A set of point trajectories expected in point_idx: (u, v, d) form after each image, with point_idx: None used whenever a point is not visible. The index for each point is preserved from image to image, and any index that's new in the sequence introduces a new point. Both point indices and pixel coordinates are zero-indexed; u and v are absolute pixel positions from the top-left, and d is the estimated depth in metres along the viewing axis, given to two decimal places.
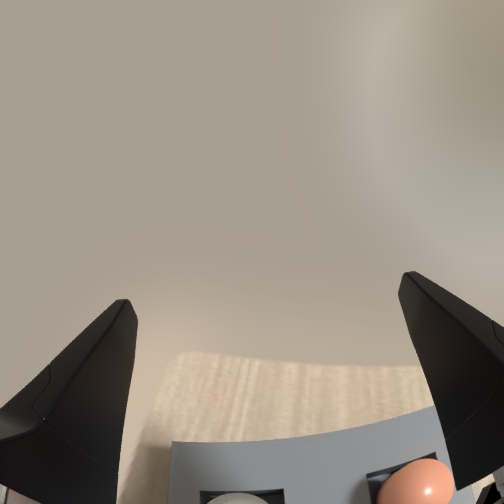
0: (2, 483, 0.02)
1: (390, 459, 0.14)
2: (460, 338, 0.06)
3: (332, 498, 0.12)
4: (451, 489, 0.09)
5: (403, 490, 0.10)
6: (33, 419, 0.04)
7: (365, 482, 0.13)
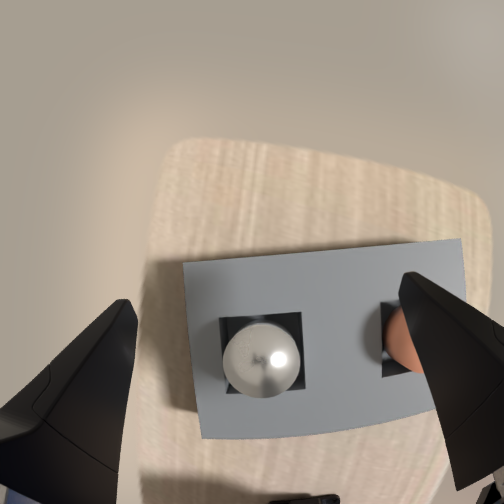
0: (2, 483, 0.02)
1: None
2: (460, 338, 0.06)
3: (347, 325, 0.17)
4: None
5: None
6: (33, 419, 0.04)
7: (378, 311, 0.17)
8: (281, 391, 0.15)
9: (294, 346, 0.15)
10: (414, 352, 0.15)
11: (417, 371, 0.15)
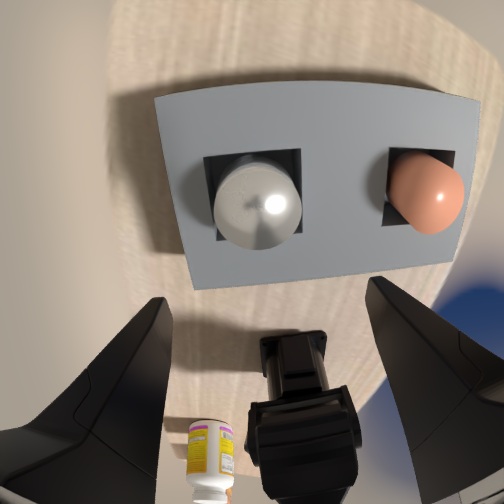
0: None
1: (415, 139, 0.14)
2: (421, 349, 0.06)
3: (351, 167, 0.15)
4: (457, 212, 0.14)
5: (423, 194, 0.14)
6: (77, 430, 0.04)
7: (386, 157, 0.15)
8: (280, 242, 0.15)
9: (296, 193, 0.14)
10: (421, 211, 0.14)
11: (420, 231, 0.15)
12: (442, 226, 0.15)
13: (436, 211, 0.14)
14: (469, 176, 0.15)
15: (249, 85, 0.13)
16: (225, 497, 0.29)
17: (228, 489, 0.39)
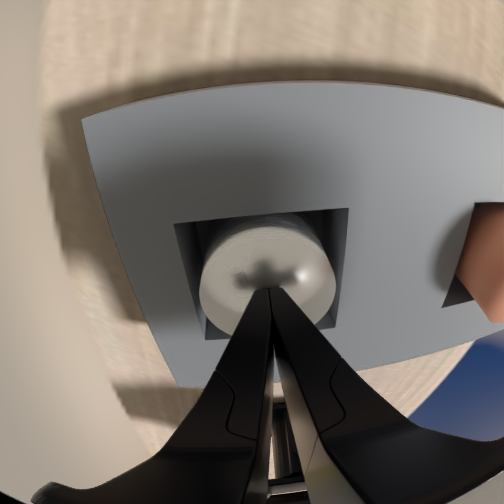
0: None
1: None
2: (291, 373, 0.06)
3: (421, 236, 0.09)
4: None
5: None
6: (241, 443, 0.04)
7: (468, 217, 0.08)
8: None
9: (329, 270, 0.09)
10: (502, 299, 0.08)
11: (494, 321, 0.09)
12: None
13: None
14: None
15: (258, 87, 0.06)
16: None
17: None
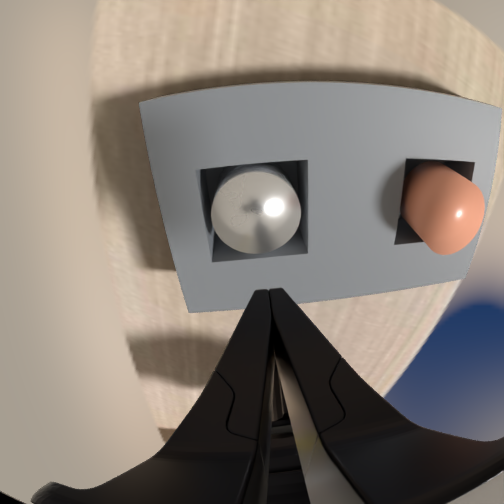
0: None
1: (434, 149, 0.12)
2: (291, 373, 0.06)
3: (363, 181, 0.13)
4: (476, 230, 0.13)
5: (442, 212, 0.12)
6: (241, 444, 0.04)
7: (402, 169, 0.13)
8: (278, 245, 0.15)
9: (295, 196, 0.13)
10: (439, 231, 0.13)
11: (437, 252, 0.13)
12: (459, 246, 0.13)
13: (455, 230, 0.13)
14: (487, 189, 0.13)
15: (248, 86, 0.11)
16: None
17: None
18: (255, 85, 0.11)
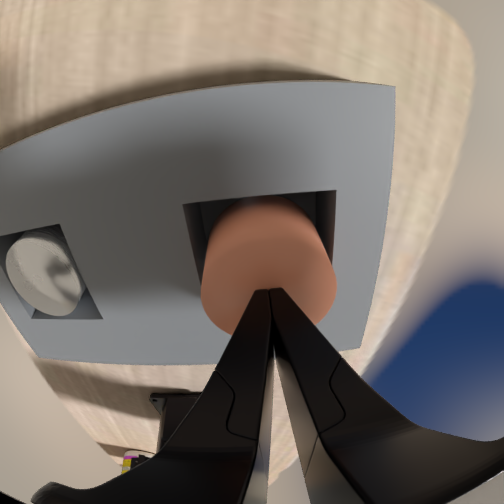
0: None
1: (234, 182, 0.09)
2: (291, 373, 0.06)
3: (129, 242, 0.10)
4: (326, 308, 0.09)
5: (230, 289, 0.09)
6: (242, 443, 0.04)
7: (182, 220, 0.10)
8: (70, 310, 0.12)
9: (60, 263, 0.10)
10: (237, 313, 0.09)
11: None
12: None
13: None
14: (376, 230, 0.10)
15: None
16: None
17: None
18: (0, 152, 0.08)
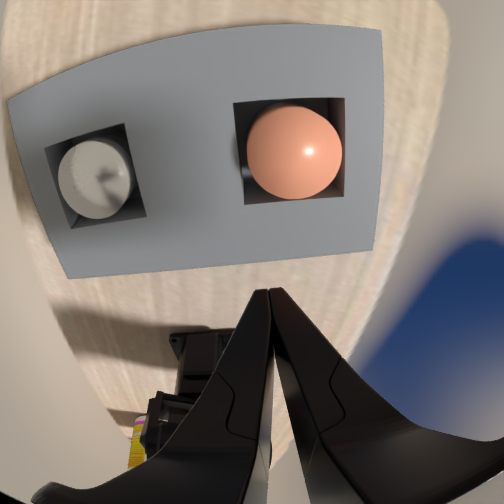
0: None
1: (271, 87, 0.11)
2: (291, 373, 0.06)
3: (185, 135, 0.12)
4: (335, 169, 0.13)
5: (269, 147, 0.12)
6: (241, 444, 0.04)
7: (230, 116, 0.12)
8: (116, 209, 0.14)
9: (117, 159, 0.13)
10: (272, 169, 0.13)
11: (279, 195, 0.13)
12: (313, 188, 0.13)
13: (297, 168, 0.13)
14: (377, 132, 0.12)
15: (70, 70, 0.10)
16: None
17: None
18: (75, 67, 0.10)
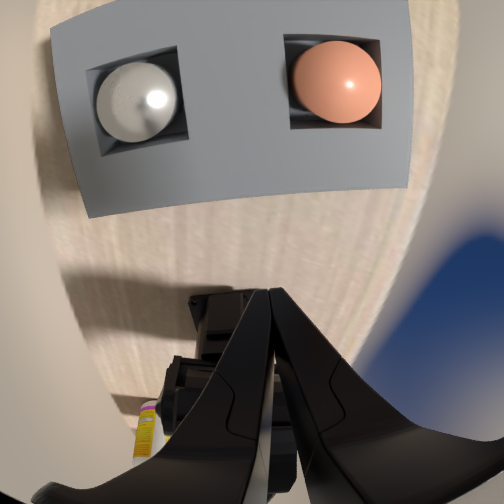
0: None
1: (318, 24, 0.11)
2: (291, 373, 0.06)
3: (237, 59, 0.12)
4: (376, 98, 0.12)
5: (318, 71, 0.12)
6: (241, 444, 0.04)
7: (281, 44, 0.11)
8: (157, 131, 0.13)
9: (166, 78, 0.12)
10: (320, 92, 0.12)
11: (326, 117, 0.13)
12: (357, 114, 0.13)
13: (343, 93, 0.12)
14: (408, 72, 0.12)
15: None
16: None
17: None
18: None
